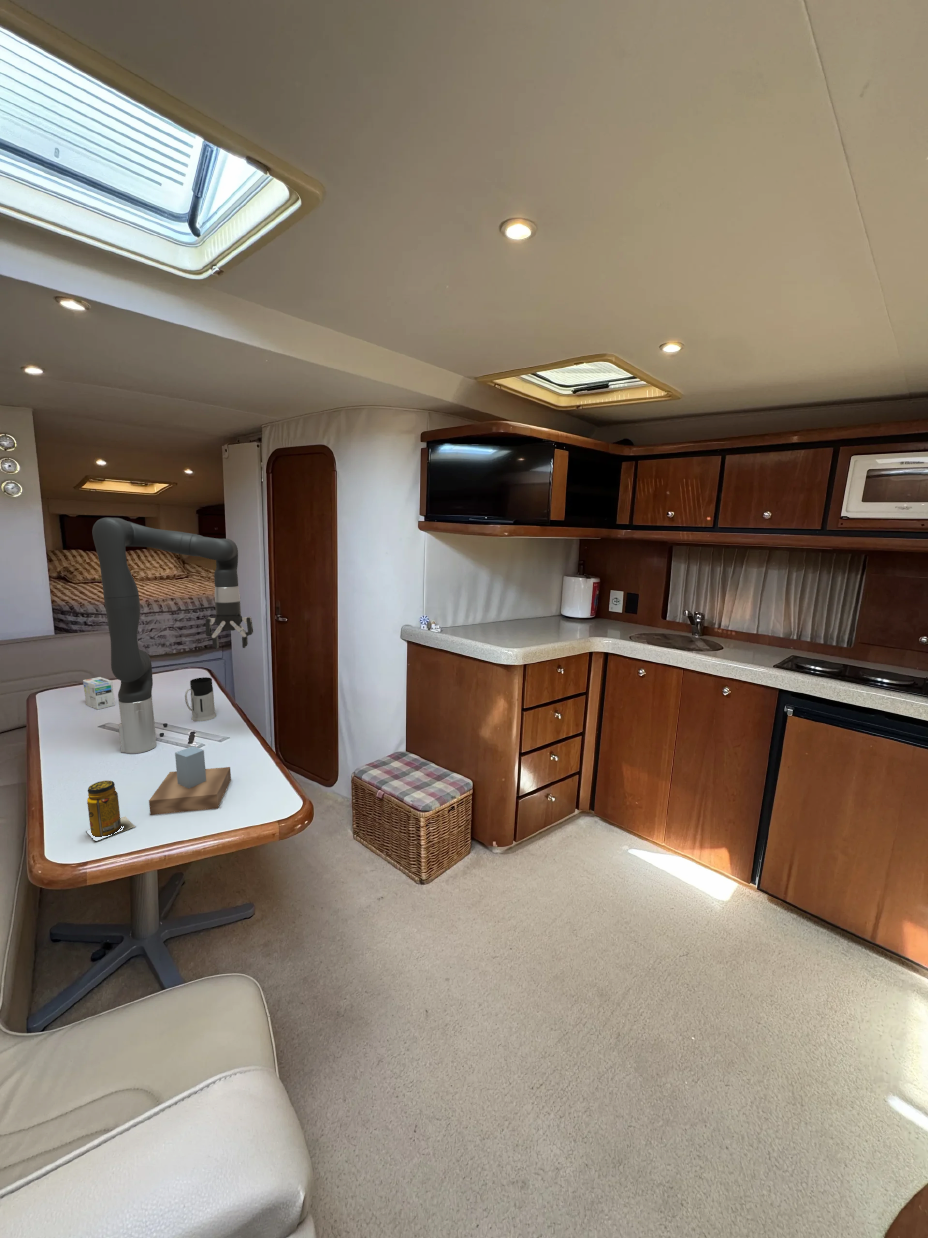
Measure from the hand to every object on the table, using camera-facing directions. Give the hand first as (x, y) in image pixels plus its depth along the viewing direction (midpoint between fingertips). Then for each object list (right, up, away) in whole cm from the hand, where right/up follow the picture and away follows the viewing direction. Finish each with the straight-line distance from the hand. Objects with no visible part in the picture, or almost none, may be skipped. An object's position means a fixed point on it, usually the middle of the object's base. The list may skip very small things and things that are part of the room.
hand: (230, 648), depth 171 cm
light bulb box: (-72, -26, +39) cm, 86 cm away
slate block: (+4, -35, -31) cm, 47 cm away
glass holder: (-23, -29, +25) cm, 45 cm away
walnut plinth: (+4, -39, -31) cm, 50 cm away
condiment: (-8, -42, -46) cm, 63 cm away
